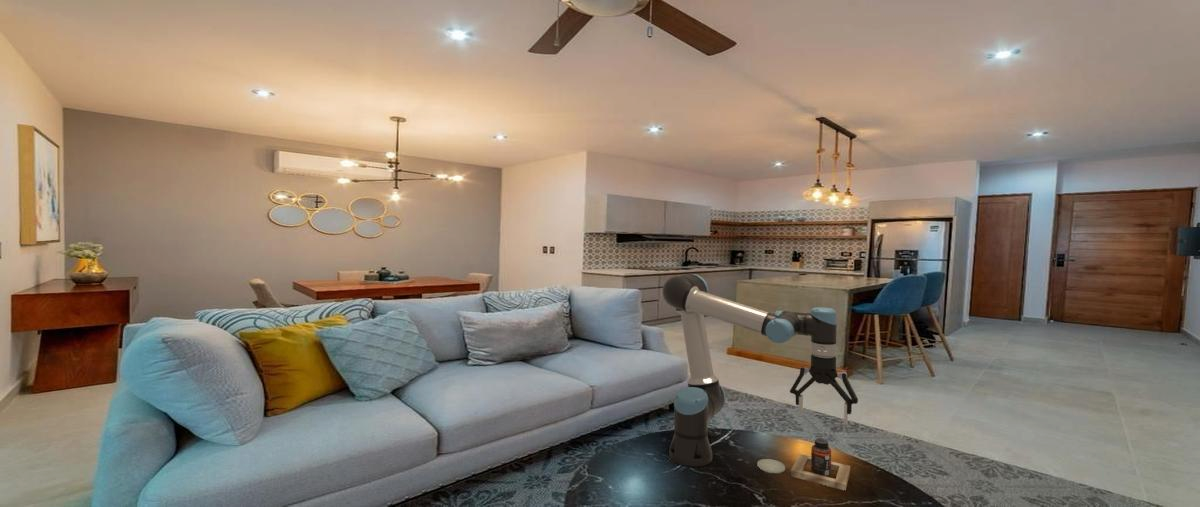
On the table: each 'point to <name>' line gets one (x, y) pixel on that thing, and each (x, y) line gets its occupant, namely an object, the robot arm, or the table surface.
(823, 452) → the supplement bottle
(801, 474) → the oak holder
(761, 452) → the table surface
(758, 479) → the table surface
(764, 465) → the cream flat disc
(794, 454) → the table surface
